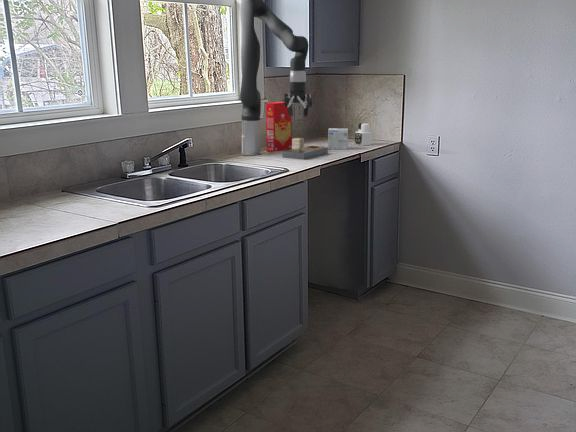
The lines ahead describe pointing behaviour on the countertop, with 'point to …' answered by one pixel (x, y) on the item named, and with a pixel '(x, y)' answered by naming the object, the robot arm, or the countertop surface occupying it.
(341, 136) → the light bulb box
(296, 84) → the robot arm
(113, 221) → the countertop surface
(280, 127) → the food packaging
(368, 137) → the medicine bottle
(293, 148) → the peg
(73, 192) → the countertop surface
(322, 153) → the grey flat block
